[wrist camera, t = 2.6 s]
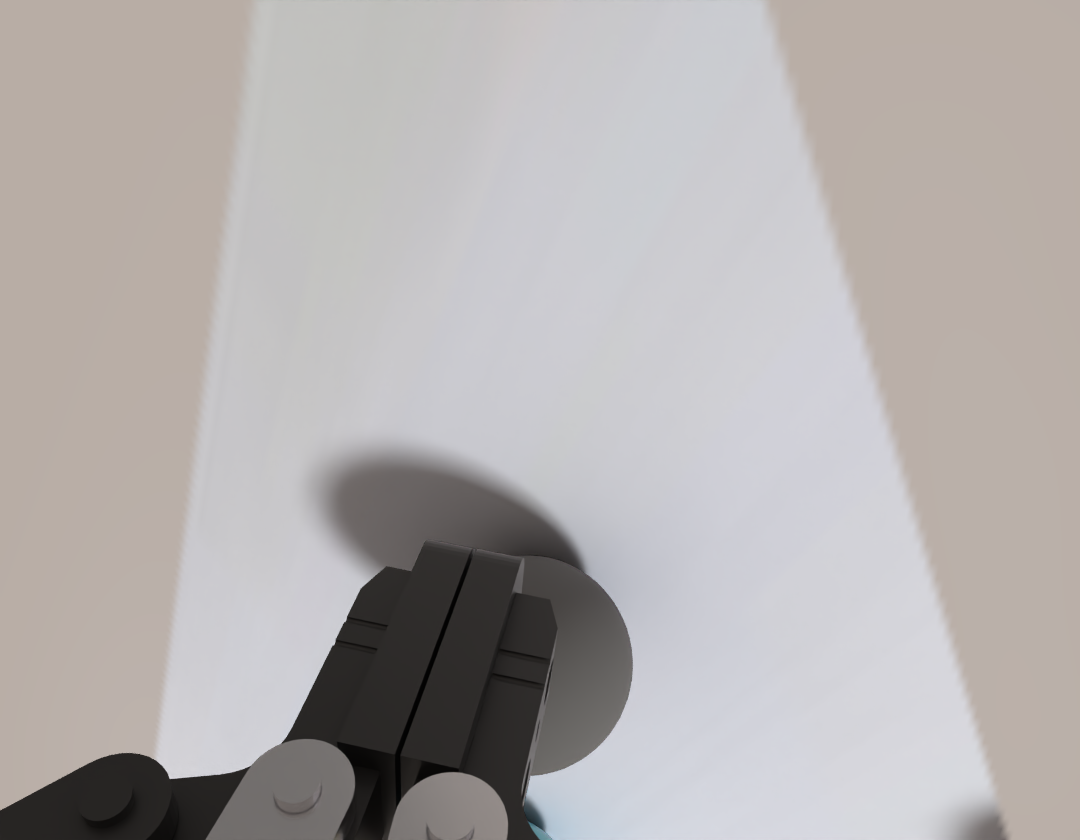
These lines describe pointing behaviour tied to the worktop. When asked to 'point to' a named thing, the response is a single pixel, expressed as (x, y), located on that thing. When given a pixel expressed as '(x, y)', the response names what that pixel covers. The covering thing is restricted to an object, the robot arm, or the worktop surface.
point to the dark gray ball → (579, 663)
